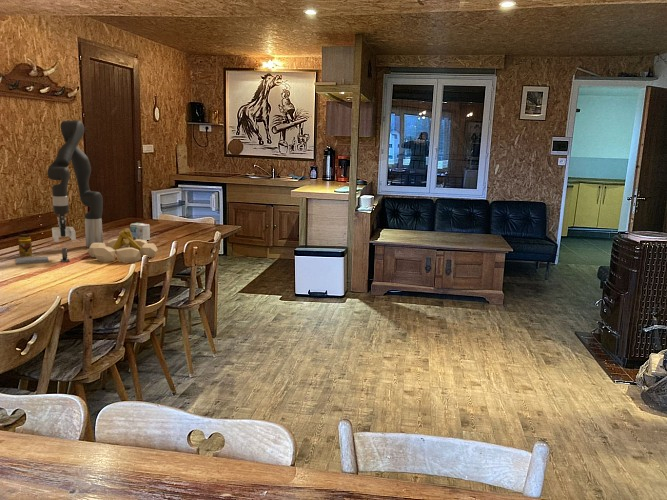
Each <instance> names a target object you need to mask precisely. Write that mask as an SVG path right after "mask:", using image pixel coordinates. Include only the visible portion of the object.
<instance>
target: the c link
mask: <svg viewBox="0 0 667 500" xmlns="http://www.w3.org/2000/svg"><path fill="white" fill-rule="evenodd" d="M51 232H52V233H51V234H52V236H51V237H52V239H53V241H54V242H56V243H57V242H60V238H62V237H61V231H60V227H59V226H58V227H57V226H56V227H55V226H54V227H51ZM76 234H77V233H76V230H75V228H74V227H73V226H66V229H65V237H69V238H70V240H71V241H72V242H73V241H77V237H76V236H77V235H76Z"/></svg>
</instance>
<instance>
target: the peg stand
mask: <svg viewBox="0 0 667 500" xmlns="http://www.w3.org/2000/svg"><path fill="white" fill-rule="evenodd" d="M61 257H62V258H61V259H60V262H61V263H70V261H71V260H70V258H68V248H67V247H63V248H61Z"/></svg>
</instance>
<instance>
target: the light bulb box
mask: <svg viewBox="0 0 667 500" xmlns="http://www.w3.org/2000/svg"><path fill="white" fill-rule="evenodd" d="M129 226H130V228H129V229H130V231H131V234H132V237H133V240H137V239H141V240H146V241H147V240H150V241H151V234H150V233H151V230H150V228H151V225H150V224H149V223H148V224H147V223H142V222H141V223H140V222H134V223H130V225H129ZM147 242H148V241H147Z"/></svg>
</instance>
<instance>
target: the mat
mask: <svg viewBox="0 0 667 500" xmlns="http://www.w3.org/2000/svg"><path fill="white" fill-rule="evenodd" d="M48 257H49V256H34V257H33V256H31V257H26V258H24V257H16V258H15V265H27V264H28V265H29V264H45V263H50V260H49V258H48Z"/></svg>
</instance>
